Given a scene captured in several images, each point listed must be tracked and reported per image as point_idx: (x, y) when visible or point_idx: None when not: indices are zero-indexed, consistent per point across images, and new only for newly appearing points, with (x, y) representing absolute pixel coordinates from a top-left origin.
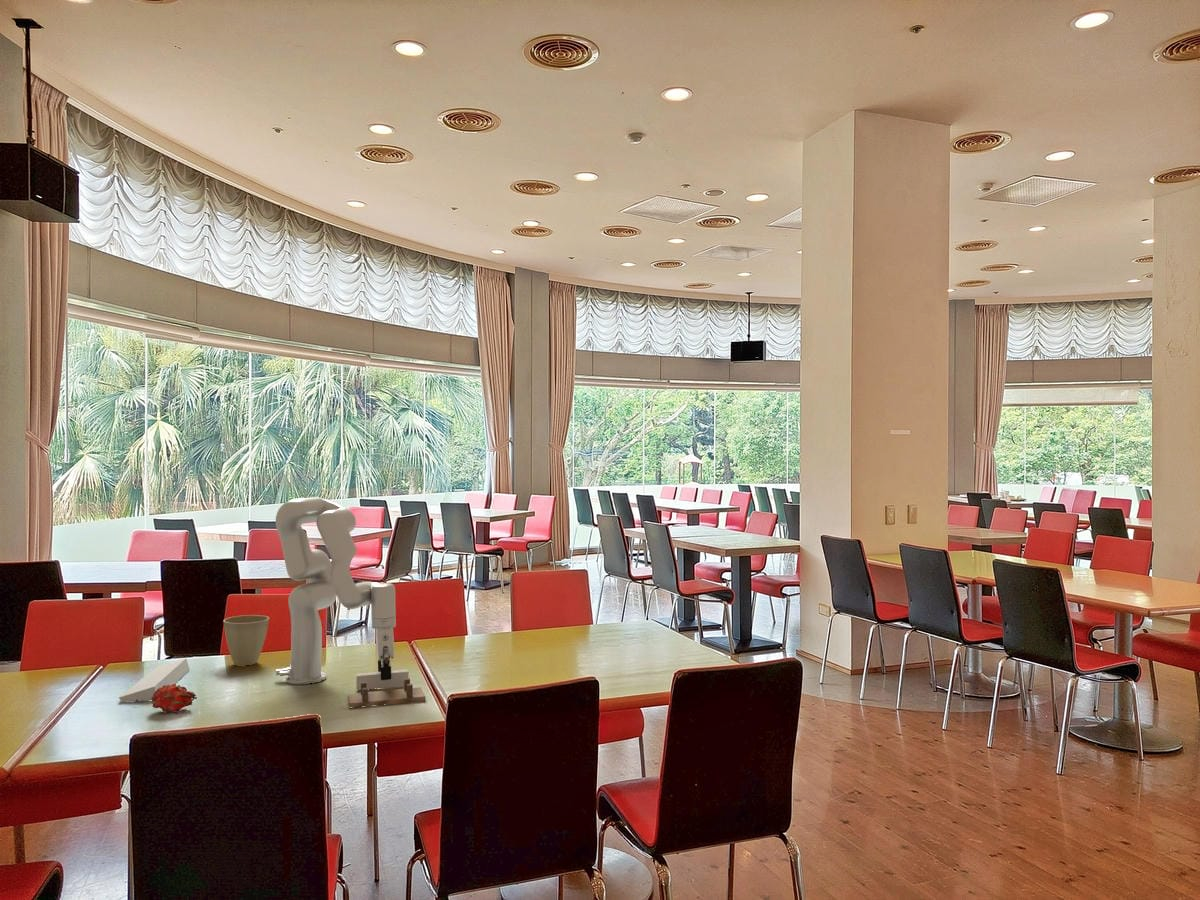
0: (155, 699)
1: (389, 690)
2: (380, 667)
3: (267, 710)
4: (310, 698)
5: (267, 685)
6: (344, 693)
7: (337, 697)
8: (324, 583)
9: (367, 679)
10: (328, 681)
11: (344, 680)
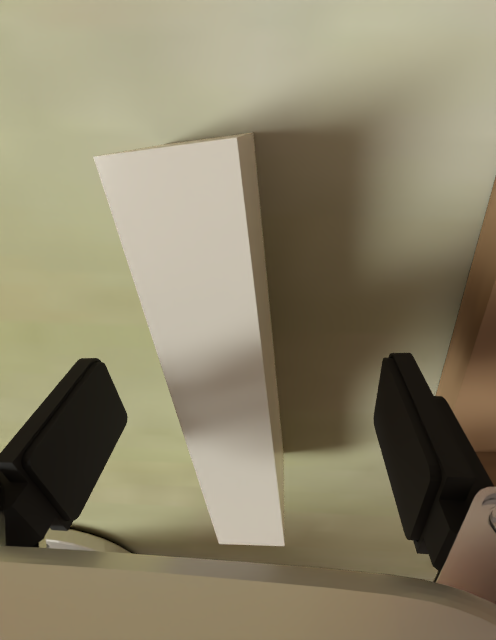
0: None
1: (490, 324)
2: (102, 445)
3: None
4: (332, 566)
5: None
6: (304, 491)
7: (361, 512)
8: None
9: (280, 473)
10: (98, 520)
11: None
